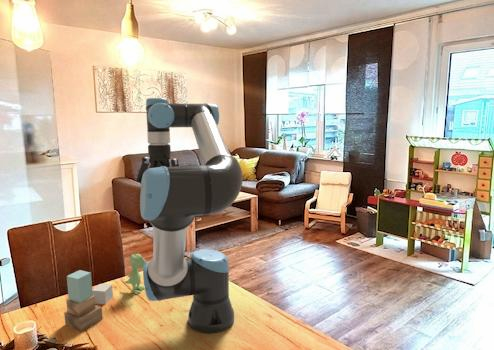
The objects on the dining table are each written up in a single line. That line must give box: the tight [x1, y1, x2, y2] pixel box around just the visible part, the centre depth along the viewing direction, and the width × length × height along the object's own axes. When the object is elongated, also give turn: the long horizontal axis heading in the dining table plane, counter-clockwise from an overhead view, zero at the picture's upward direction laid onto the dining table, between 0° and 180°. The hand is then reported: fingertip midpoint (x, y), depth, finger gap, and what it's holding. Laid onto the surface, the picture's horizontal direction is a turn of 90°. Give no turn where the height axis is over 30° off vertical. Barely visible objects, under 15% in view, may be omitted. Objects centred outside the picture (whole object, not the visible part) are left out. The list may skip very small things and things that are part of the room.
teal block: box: [66, 269, 93, 303], centre depth 114 cm, size 5×5×8 cm
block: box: [92, 283, 114, 305], centre depth 129 cm, size 5×5×5 cm
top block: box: [66, 295, 96, 317], centre depth 115 cm, size 6×6×4 cm
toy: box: [122, 253, 147, 295], centre depth 135 cm, size 7×8×15 cm
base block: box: [63, 304, 104, 333], centre depth 116 cm, size 8×8×4 cm
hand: (161, 204), depth 125 cm, fingers open, 13 cm apart
